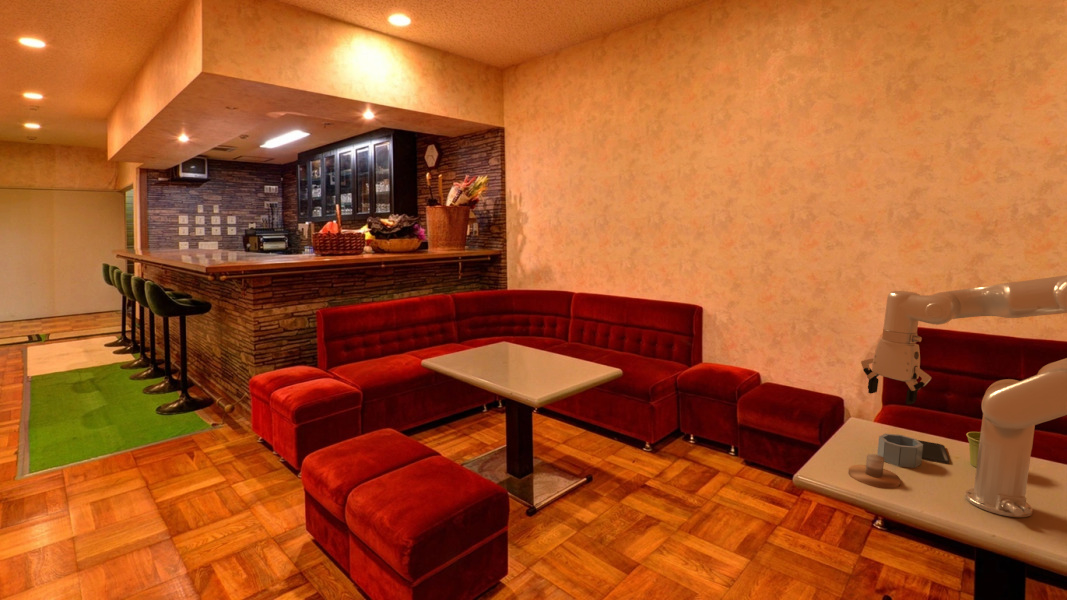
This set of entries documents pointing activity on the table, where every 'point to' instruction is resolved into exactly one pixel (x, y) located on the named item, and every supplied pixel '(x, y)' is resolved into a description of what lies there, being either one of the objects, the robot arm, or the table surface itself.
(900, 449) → the bowl
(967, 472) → the table surface
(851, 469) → the lid
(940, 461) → the phone
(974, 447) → the plant pot
